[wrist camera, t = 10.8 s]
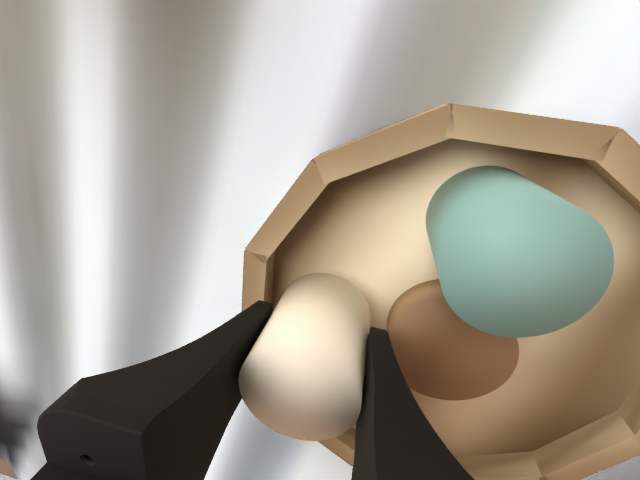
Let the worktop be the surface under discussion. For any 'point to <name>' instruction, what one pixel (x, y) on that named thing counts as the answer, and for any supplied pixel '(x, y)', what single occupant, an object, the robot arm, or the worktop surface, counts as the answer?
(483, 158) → the ring tray
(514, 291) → the bead teal
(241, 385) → the bead cream
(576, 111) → the worktop surface
